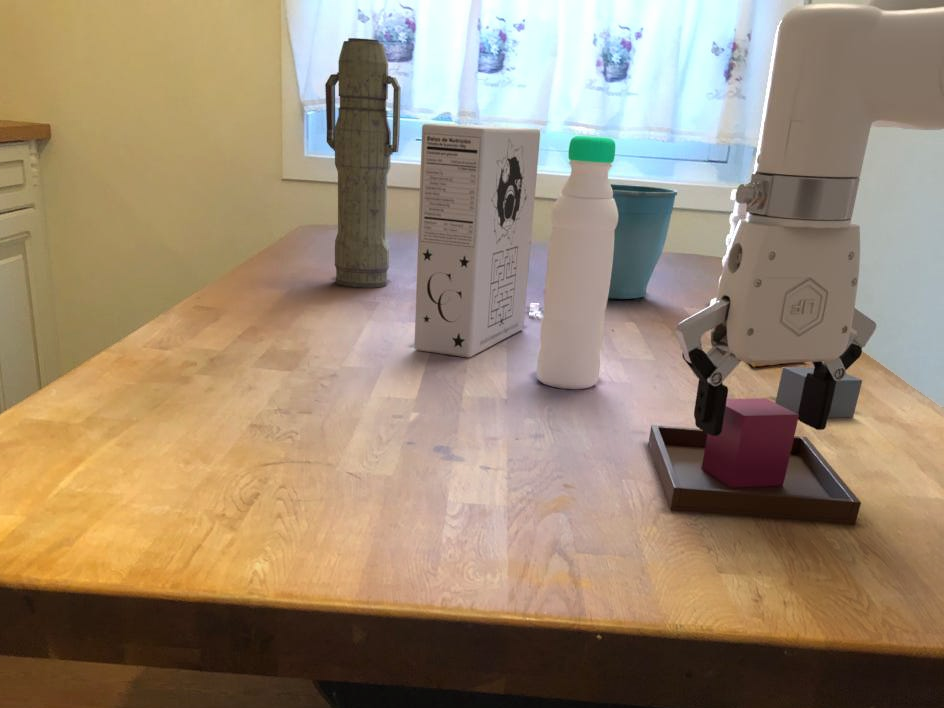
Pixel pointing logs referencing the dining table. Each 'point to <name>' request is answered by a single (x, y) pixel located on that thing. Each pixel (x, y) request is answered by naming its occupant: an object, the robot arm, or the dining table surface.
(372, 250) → the thermos
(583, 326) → the water bottle
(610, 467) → the dining table surface
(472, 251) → the cereal box
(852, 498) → the tray
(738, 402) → the mulberry block
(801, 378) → the base block
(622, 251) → the flower pot
